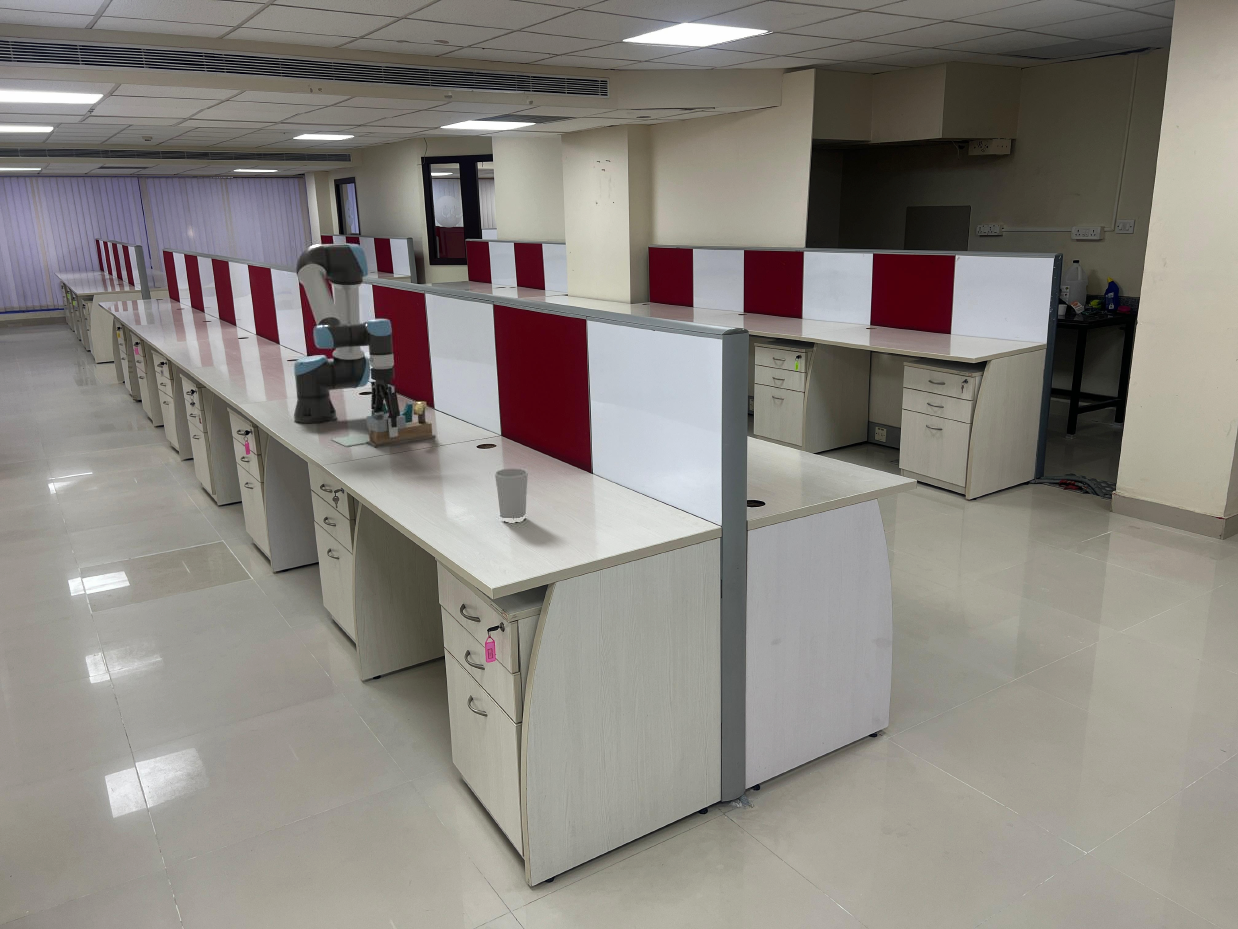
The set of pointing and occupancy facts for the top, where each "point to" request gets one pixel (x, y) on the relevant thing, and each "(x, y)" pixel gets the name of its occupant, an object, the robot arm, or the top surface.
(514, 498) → the cup
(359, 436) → the mat
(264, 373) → the top surface
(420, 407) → the lever
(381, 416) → the gray rectangular block
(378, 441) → the plane body
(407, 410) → the teal notched cradle
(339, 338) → the robot arm
